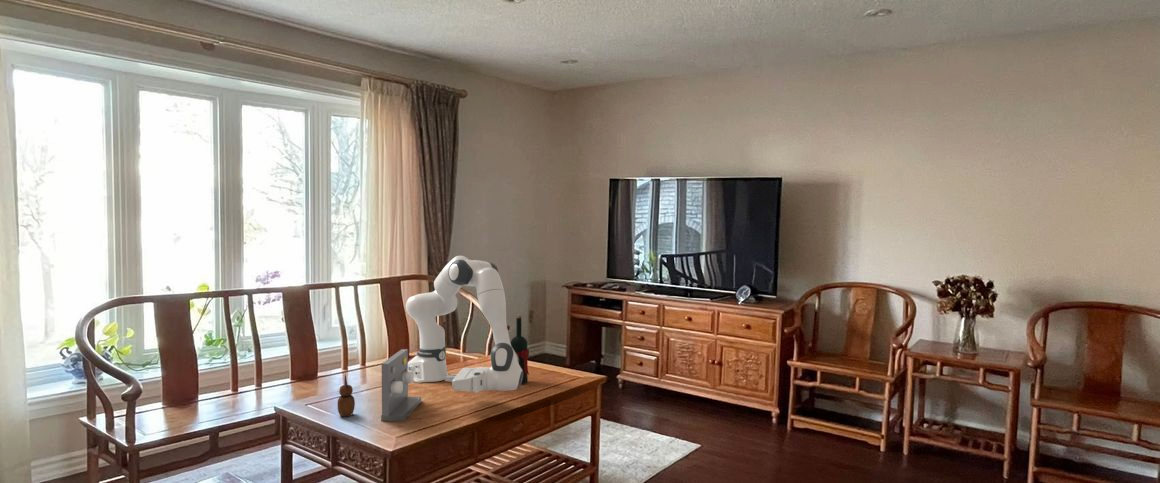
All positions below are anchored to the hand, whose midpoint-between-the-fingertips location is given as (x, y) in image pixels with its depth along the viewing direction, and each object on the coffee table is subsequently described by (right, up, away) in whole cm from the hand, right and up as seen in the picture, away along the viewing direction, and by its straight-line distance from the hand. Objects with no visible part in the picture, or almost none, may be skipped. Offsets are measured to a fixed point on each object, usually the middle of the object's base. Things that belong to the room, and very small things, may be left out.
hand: (445, 377), depth 256 cm
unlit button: (-15, -3, -13) cm, 20 cm away
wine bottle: (+26, -10, +35) cm, 45 cm away
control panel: (-15, -11, -6) cm, 20 cm away
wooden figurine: (-35, -12, -12) cm, 38 cm away
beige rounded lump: (-15, -2, +1) cm, 15 cm away
